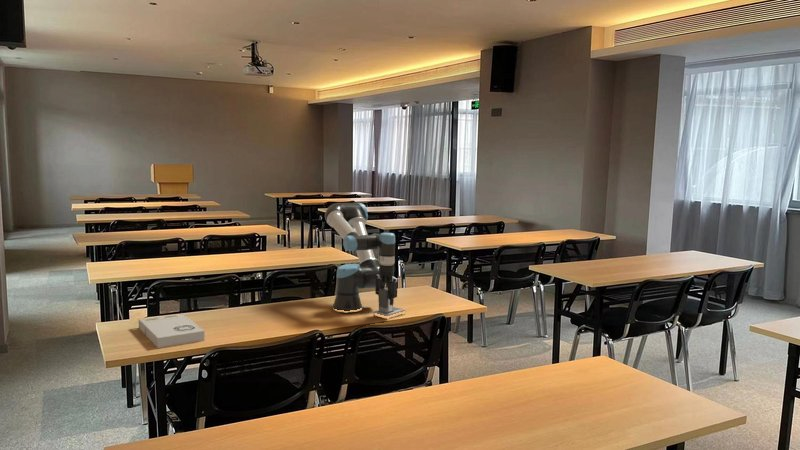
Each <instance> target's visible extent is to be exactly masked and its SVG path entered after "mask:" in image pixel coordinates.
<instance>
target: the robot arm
mask: <svg viewBox="0 0 800 450" xmlns="http://www.w3.org/2000/svg"><path fill="white" fill-rule="evenodd" d="M368 218H369V215H368V208H367V207H366V205H365V204H364V203H361V202H337V203H333V204H331V205H329V206H328V207H327V209H326V210H325V213H324V219H325V221H326V224H327V225H328V226H330V227H331V228H333V229H334V230H335V232H337V234H338V235H339V236H340V237H341V239H343V240H342V241H343V242H342V245H343V249H344V250H346V251H348V252H349V251H351V252H356V255H357V258H358V261H359V264H358V263H345V264H343V265H340V266H339V267H337V269H336V275H335V276H336V288H335V289H336V291H335V293H336V294H335V298H334V302H333V304H332V309H333V308H334V309H337V310H344V311H350V310H357V309H360V308H362V309H363V304H362V302H361V296H360V290H364V289H374V290H375V291H374V292H375V293H374V294H375V295H378V297H379V289H382V288H385V287H386V288H388V293H389V298H388V312H390V311H392V305H393V306H394V304H395V303H394V302H395V301H394V299H396V298H398V281H399V278H398V277H397V278H396V277H395V276H394V274H395V273H394V272H395V264H396V263H395V262H396V259H395V257H396V255H395V254H396V252H395V251H396V235H395V233H393V232H381V233H371V234H369V233H368V232H367V229H366V224H367V221H368ZM373 250H374V251H375V250H378V251H379V259H377V258H376V256H375V254H374V251H373ZM377 300H378V302H379V298H378V299H377Z"/></svg>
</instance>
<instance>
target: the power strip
mask: <svg viewBox="0 0 800 450" xmlns="http://www.w3.org/2000/svg"><path fill="white" fill-rule="evenodd" d="M403 311H405V312H406V309H405V308H402V307H397V306H394V305H393V312H391V313H387V314H385V313H381V312H379V309H376V310H373V314H374V313H377V314H380V315H384V316H390V315H393V314H396V313H399V312H403Z"/></svg>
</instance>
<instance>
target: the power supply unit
mask: <svg viewBox="0 0 800 450" xmlns="http://www.w3.org/2000/svg"><path fill="white" fill-rule="evenodd" d="M138 329H139V330H140V331H141V332H142V333H143V334H144V335H145V336H146V338H148V339H149V340H150V341H151V342H152V344H154V345H155V347H156V348H157V349H164V348H169V347H173V346H175V347H176V346H180V345H187V344H193V343H198V342H204V341H205V339H206V336H205V335H206V333H205V329H203V328H202V327H201V326H199V325H198V324H197V323H195V321H193V320H192V319H190V318H189V317H187V316H186V315H185V314H184V313H182V312H181V313H180V314H174V315H173V314H172V315H167V316H159V317H153V318H151V317H150V318H145V319H140V318H138Z"/></svg>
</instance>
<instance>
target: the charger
mask: <svg viewBox="0 0 800 450" xmlns="http://www.w3.org/2000/svg"><path fill="white" fill-rule="evenodd" d="M388 298H389V293H388V287H387V286H385V288H382V289H379V296H378V299H379V301H378V310H379V312H381V313H385V314H387V313H391V312H393V306H394V304H393V305H392V311H390V312H388Z"/></svg>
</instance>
